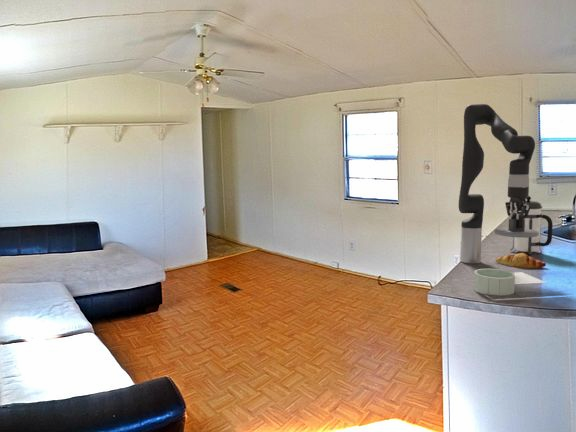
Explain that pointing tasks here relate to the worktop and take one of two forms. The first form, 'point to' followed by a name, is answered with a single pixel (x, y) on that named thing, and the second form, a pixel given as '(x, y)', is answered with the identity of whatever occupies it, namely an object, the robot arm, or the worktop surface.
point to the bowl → (494, 282)
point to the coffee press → (534, 224)
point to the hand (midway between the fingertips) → (516, 227)
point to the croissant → (520, 261)
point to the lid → (516, 230)
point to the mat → (525, 279)
